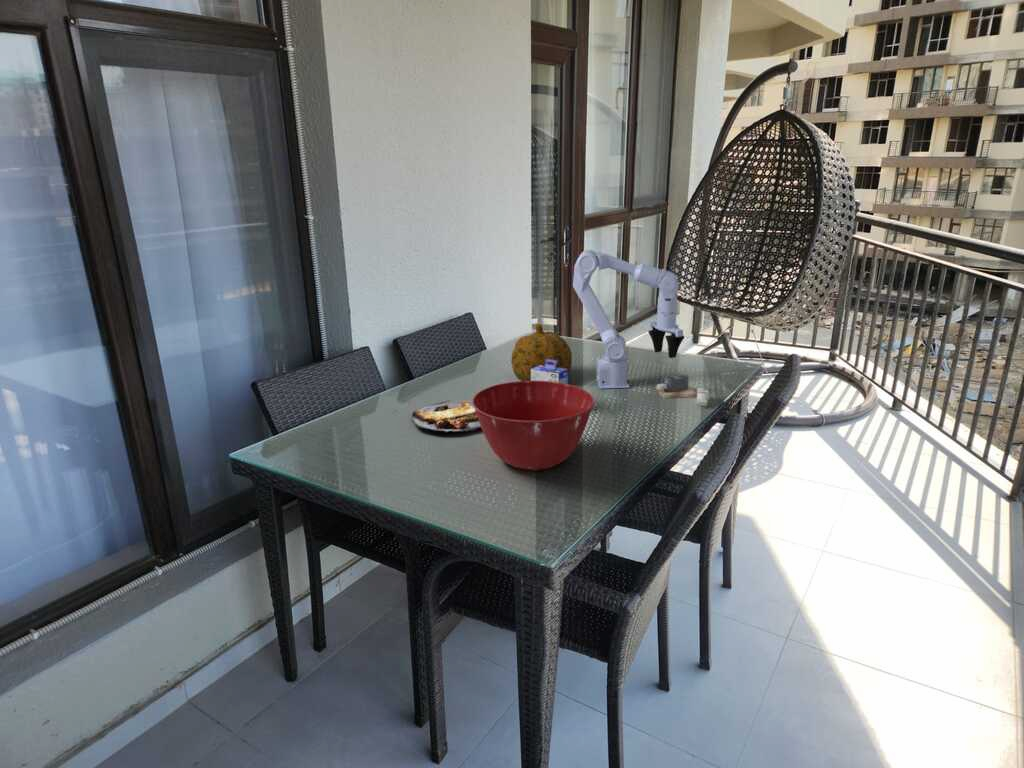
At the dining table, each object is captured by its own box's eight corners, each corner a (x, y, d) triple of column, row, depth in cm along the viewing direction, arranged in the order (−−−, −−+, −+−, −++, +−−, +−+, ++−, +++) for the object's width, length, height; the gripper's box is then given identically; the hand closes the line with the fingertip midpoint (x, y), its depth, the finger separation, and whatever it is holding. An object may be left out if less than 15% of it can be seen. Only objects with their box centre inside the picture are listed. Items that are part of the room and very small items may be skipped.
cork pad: (663, 398, 194) (664, 395, 193) (655, 388, 203) (655, 385, 203) (696, 397, 194) (696, 394, 194) (686, 387, 203) (687, 384, 203)
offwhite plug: (696, 398, 193) (696, 387, 192) (706, 399, 192) (707, 387, 191) (697, 408, 185) (698, 396, 183) (708, 409, 184) (709, 397, 183)
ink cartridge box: (569, 408, 187) (569, 361, 183) (559, 414, 183) (558, 365, 179) (540, 403, 193) (539, 356, 188) (530, 408, 189) (529, 360, 184)
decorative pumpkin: (587, 375, 215) (582, 317, 208) (546, 396, 201) (540, 335, 195) (542, 367, 229) (536, 313, 222) (501, 386, 215) (493, 329, 208)
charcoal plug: (683, 386, 201) (684, 374, 200) (690, 389, 198) (690, 376, 197) (655, 391, 197) (656, 378, 196) (661, 394, 195) (662, 381, 193)
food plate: (432, 443, 165) (431, 430, 164) (399, 418, 184) (398, 406, 183) (515, 425, 177) (515, 413, 176) (476, 403, 196) (475, 392, 195)
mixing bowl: (613, 450, 158) (615, 390, 153) (554, 496, 136) (554, 428, 131) (518, 428, 173) (516, 374, 169) (450, 467, 151) (447, 405, 146)
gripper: (692, 314, 193) (690, 358, 197) (664, 306, 206) (662, 348, 210) (672, 317, 190) (670, 361, 194) (645, 309, 203) (643, 350, 207)
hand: (665, 354), depth 202 cm, fingers open, 7 cm apart
